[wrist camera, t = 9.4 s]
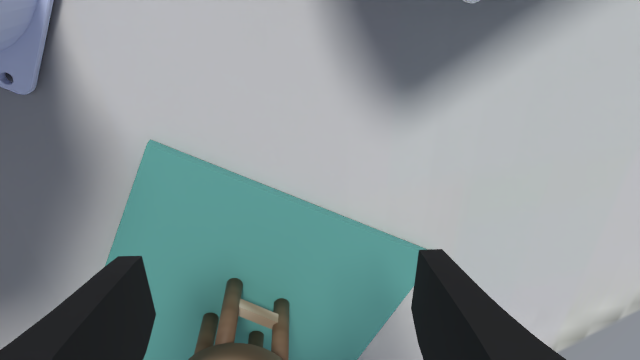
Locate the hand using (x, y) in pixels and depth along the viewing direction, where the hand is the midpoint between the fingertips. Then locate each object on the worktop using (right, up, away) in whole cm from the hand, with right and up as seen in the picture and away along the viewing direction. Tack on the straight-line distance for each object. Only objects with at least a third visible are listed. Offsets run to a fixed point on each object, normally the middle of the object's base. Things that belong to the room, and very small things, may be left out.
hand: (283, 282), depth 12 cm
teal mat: (-3, -5, +14) cm, 15 cm away
